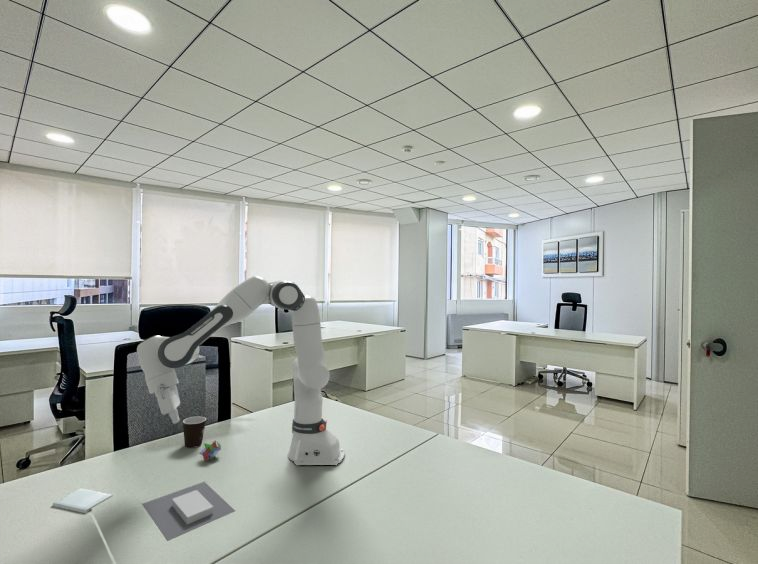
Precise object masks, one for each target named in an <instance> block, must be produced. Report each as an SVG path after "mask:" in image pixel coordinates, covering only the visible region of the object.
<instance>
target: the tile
mask: <svg viewBox="0 0 758 564" xmlns="http://www.w3.org/2000/svg"><path fill="white" fill-rule="evenodd" d="M172 507H173V508H174V509H175V510H176V512H177V513H178V514H179V515H180V517H181V518H182V519H183V520H184V522H185V523H186V524H187V525H188V524H190V523H192V522H195V521H197V520H200V519H202V518H204V517H207V516H209V515H211V514H213V506H212V505H211V504H210V503H209V502H208V501H207V500H206V499H205V498H204V497H203V496H202V495H201V494H200V493H199V492H198V491H197V490H195V491H192V492H189V493H187V494H184V495H181V496H179V497H176V498H173V499H172Z"/></svg>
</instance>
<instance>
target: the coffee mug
mask: <svg viewBox="0 0 758 564" xmlns="http://www.w3.org/2000/svg"><path fill="white" fill-rule="evenodd" d="M206 423H207V418H206V417H205V416H190V417H187V418H185V419H183V420H182V426H183V427H182V428H183V437H184V438H183V441H184V447H185V448H188V449H192V448H193V449H194V448H197V447H200V446H201V445H202V444H203V440H204V439H203V438H204V435H205V428H206Z"/></svg>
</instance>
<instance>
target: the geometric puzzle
mask: <svg viewBox="0 0 758 564" xmlns="http://www.w3.org/2000/svg"><path fill="white" fill-rule="evenodd" d="M221 446H222V445H221V444H220V443H219V442H218V441H216V440H213V442H212V441H211V443H205V442H203V445H202V448H201V449H200V452H199V453H198V454H199V455H201V456H202V459H203V462H207V461H210V459H212V460H213V459H217V458H218V456H217V455H218V453H219V452H221V449H222V447H221Z"/></svg>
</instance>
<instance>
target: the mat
mask: <svg viewBox="0 0 758 564" xmlns="http://www.w3.org/2000/svg"><path fill="white" fill-rule="evenodd" d="M195 490H197V491H198V492H199V493H200V494H201V495H202V496H203V497H204V498H205V499H206V500H207V501H208V502H209V503H210V504H211V505H212V506H213V514H211V515H209V516H207V517H204V518H202V519H200V520H197V521H195V522H192V523H190V524H188V525H187V524H186V523H185V522H184V520H183V519H182V518H181V517H180V515H179V514H178V513H177V512H176V510H175V509H174V508H173V507H172V499H173V498H176V497H179V496H181V495H184V494H187V493H189V492H192V491H195ZM141 505H142V506H143V507H144V509H145V510H146V511H147V514H148V515H149V517H151V519H152V520H153V522H154V523H155V525H156V527H157V528H158V529H159V531H160V532H161V533H162V535H163V537H164V538H165V540H166V541H171V540H173V539H176V538H178V537H179V536H180V537H181V536H182V535H184V534H186V533H189V532H190V531H193V530H196V529H197V528H200V527H202V526H205V525H206V524H210V523H211V522H213V521H215V520H218V519H220V518H223V517H225V516H228V515H229V514H232V513H234V512H236V510H235V509H234V508H233V507H232V506H231V505H230V504H229V503H228V502H227V501H225V499H224V498H223V497H221V496H220V495H219V494H218V493H217V492H216V491H215V490H214V489H213V488H212V487H211V486H210V485H208V483H207V482H206V481H203V482H202V481H201V482H200V483H196V484H193V485H191V486H188V487H186V488H183V489H180V490H177V491H174V492H170V493H168V494H166V495H162V496H160V497H157V498H154V499H151V500H149V501H146V502H143V503H142V504H141Z"/></svg>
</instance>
